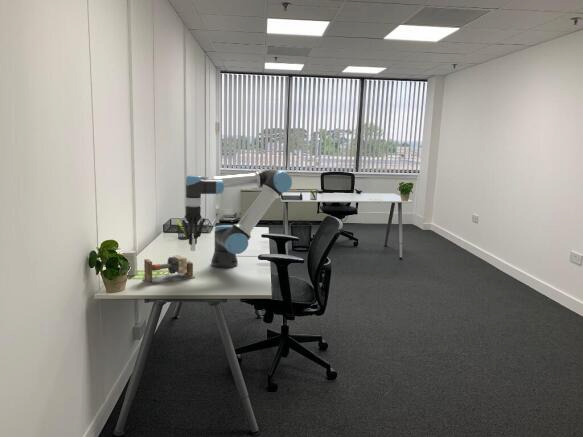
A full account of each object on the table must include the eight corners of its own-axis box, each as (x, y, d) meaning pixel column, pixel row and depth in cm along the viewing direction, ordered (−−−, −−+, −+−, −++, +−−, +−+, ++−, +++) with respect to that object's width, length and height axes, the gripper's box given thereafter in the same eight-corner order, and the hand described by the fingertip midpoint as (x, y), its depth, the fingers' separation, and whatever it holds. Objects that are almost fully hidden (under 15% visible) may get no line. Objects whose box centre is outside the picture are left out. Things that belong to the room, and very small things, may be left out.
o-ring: (170, 270, 225) (170, 255, 223) (176, 274, 218) (176, 259, 217) (167, 271, 224) (167, 256, 222) (173, 275, 217) (173, 259, 216)
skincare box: (137, 273, 228) (137, 250, 226) (135, 275, 224) (134, 252, 222) (125, 273, 228) (124, 250, 226) (122, 275, 223) (121, 252, 221)
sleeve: (180, 269, 228) (180, 254, 227) (186, 273, 222) (186, 258, 220) (173, 270, 226) (173, 255, 224) (179, 274, 219) (179, 259, 218)
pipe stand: (188, 273, 231) (188, 253, 229) (194, 277, 224) (194, 257, 222) (142, 280, 217) (142, 258, 216) (148, 285, 210) (148, 263, 208)
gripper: (202, 204, 229) (201, 247, 233) (178, 205, 221) (178, 250, 225) (208, 206, 223) (207, 250, 227) (183, 207, 215) (183, 253, 219)
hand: (192, 250), depth 226 cm, fingers closed
